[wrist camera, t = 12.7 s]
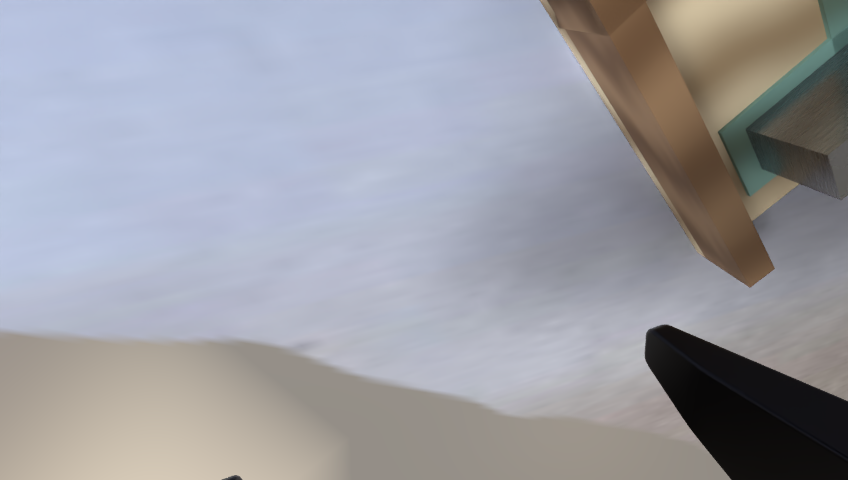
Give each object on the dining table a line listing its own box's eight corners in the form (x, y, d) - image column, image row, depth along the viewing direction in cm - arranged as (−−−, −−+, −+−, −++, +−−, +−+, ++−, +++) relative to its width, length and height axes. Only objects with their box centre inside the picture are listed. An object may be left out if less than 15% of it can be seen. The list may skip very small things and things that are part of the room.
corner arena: (537, -4, 17) (588, -2, 14) (980, -450, 14) (1172, -574, 11) (697, 252, 26) (749, 287, 23) (988, 21, 23) (1094, 25, 20)
